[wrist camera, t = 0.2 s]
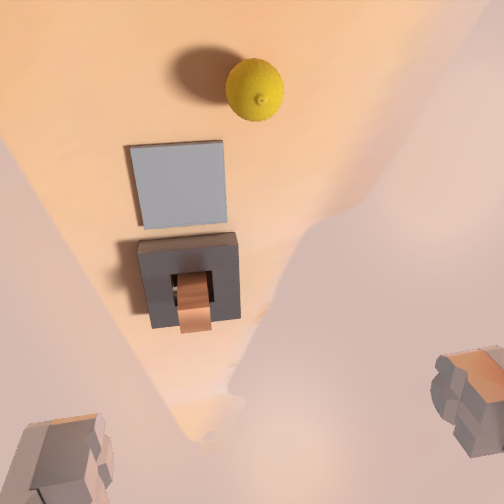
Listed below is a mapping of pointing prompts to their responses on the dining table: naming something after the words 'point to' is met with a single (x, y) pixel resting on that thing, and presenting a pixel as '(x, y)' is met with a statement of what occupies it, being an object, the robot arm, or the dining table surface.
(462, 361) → the robot arm
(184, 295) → the peg
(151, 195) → the mat
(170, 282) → the collar block
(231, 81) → the lemon
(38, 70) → the dining table surface
